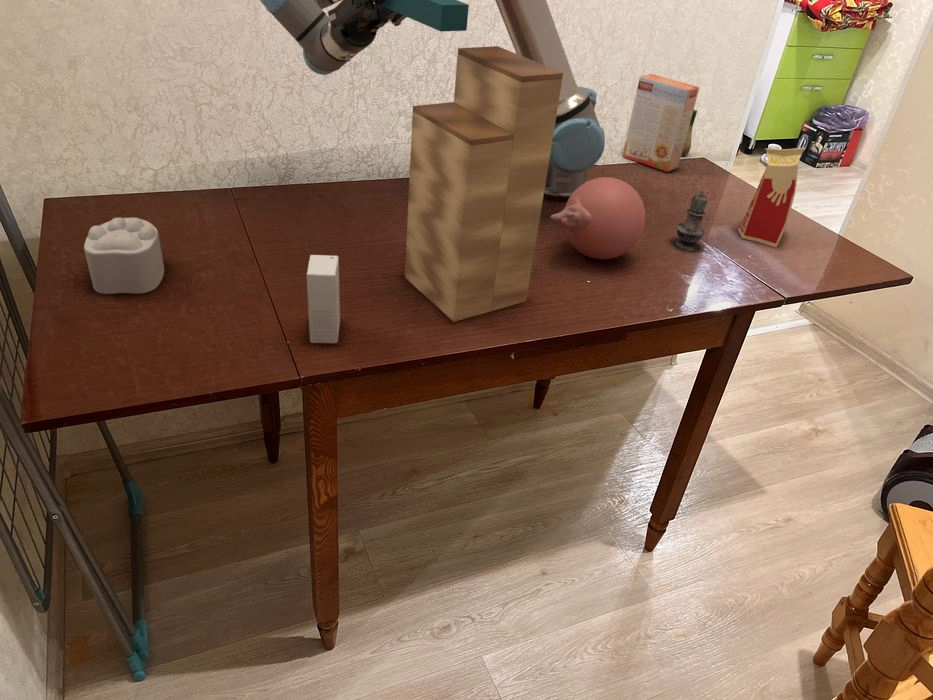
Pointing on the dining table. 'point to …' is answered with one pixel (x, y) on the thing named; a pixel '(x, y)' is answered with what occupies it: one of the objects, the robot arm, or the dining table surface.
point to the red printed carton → (772, 198)
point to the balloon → (603, 218)
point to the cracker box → (660, 122)
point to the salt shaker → (692, 224)
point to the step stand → (480, 182)
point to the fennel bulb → (689, 135)
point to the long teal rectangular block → (433, 12)
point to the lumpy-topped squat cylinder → (124, 256)
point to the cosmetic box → (323, 298)
